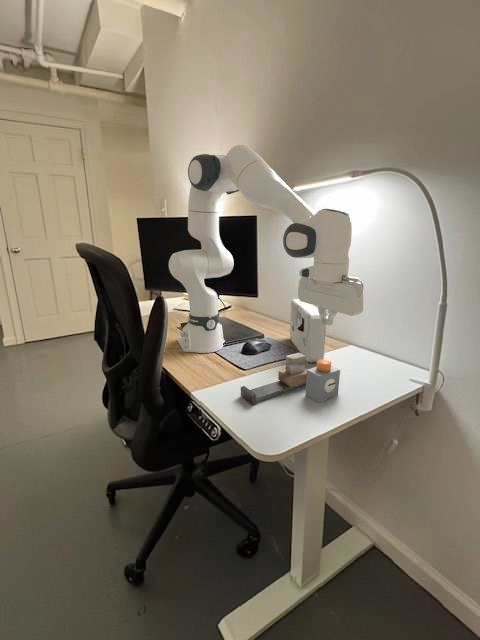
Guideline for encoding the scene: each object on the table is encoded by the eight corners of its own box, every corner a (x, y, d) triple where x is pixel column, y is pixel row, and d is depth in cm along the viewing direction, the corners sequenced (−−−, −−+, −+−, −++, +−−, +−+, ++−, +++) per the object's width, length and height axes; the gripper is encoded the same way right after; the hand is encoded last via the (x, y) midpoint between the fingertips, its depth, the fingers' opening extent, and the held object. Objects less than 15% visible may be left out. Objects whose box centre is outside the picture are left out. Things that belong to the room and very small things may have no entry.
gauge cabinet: (305, 395, 95) (306, 369, 93) (325, 388, 99) (327, 363, 97) (319, 403, 91) (321, 377, 88) (339, 395, 95) (341, 370, 92)
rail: (240, 396, 95) (240, 386, 94) (304, 376, 107) (304, 367, 106) (252, 405, 90) (252, 395, 89) (317, 383, 102) (318, 374, 101)
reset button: (313, 368, 94) (313, 361, 93) (323, 365, 96) (323, 358, 95) (323, 373, 90) (324, 366, 90) (333, 369, 92) (334, 363, 92)
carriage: (278, 379, 101) (279, 355, 99) (298, 373, 105) (299, 350, 103) (291, 387, 96) (292, 362, 94) (311, 380, 100) (312, 356, 98)
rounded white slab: (284, 338, 144) (285, 298, 139) (301, 337, 144) (303, 297, 139) (302, 364, 116) (305, 315, 111) (323, 363, 117) (327, 315, 112)
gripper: (372, 277, 79) (366, 332, 83) (312, 268, 95) (309, 314, 99) (354, 279, 75) (349, 336, 79) (295, 269, 92) (293, 317, 96)
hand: (326, 323), depth 89 cm, fingers closed
